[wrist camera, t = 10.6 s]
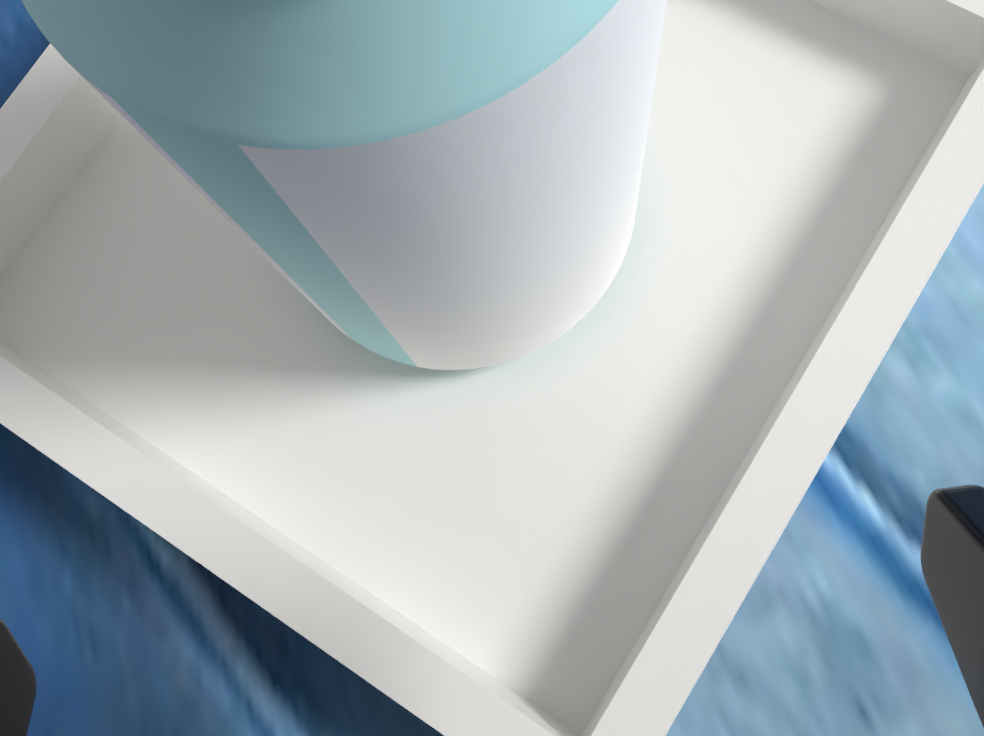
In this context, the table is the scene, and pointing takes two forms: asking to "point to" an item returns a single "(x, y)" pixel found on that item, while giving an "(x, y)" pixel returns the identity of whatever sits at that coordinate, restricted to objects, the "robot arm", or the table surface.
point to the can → (398, 149)
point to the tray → (507, 371)
